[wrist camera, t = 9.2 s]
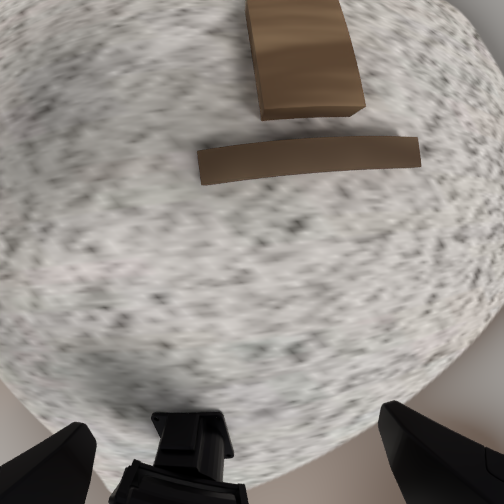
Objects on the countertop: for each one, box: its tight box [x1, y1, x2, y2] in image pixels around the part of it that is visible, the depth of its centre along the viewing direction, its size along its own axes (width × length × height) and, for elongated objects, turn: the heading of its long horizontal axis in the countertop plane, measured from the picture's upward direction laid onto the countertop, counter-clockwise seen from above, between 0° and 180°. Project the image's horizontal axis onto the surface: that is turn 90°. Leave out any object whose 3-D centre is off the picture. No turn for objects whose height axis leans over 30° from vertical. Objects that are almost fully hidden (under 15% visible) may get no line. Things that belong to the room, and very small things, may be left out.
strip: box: [197, 136, 421, 185], centre depth 17 cm, size 2×14×2 cm, turn 97°
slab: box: [245, 0, 366, 121], centre depth 15 cm, size 3×6×9 cm
